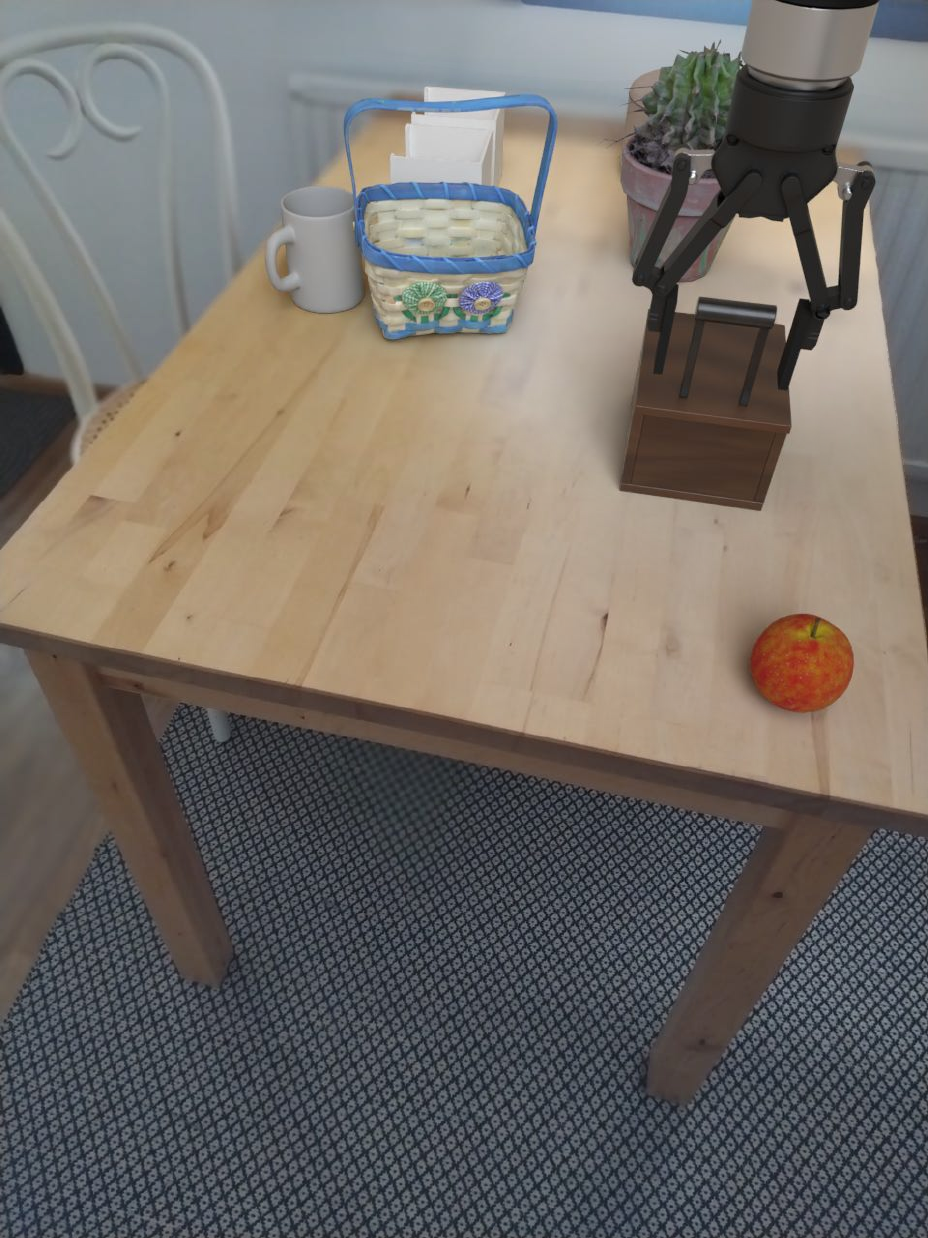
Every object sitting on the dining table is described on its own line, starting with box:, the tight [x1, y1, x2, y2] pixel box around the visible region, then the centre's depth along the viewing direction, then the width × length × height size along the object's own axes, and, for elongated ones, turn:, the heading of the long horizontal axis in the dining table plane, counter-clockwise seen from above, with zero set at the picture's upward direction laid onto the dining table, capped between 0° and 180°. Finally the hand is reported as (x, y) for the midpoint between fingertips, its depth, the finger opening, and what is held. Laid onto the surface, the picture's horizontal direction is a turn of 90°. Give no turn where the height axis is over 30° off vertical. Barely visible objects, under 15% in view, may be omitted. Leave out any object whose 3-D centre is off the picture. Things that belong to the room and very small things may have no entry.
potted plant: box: [597, 38, 745, 283], centre depth 106 cm, size 18×20×25 cm
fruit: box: [749, 613, 855, 714], centre depth 66 cm, size 7×7×8 cm
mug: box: [264, 185, 365, 314], centre depth 103 cm, size 12×8×11 cm
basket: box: [343, 93, 558, 340], centre depth 96 cm, size 21×16×24 cm
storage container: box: [389, 86, 507, 247], centre depth 121 cm, size 25×11×11 cm, turn 172°
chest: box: [619, 318, 788, 511], centre depth 86 cm, size 16×13×9 cm
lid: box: [634, 296, 792, 435], centre depth 79 cm, size 17×13×10 cm
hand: (719, 372), depth 76 cm, fingers open, 9 cm apart
